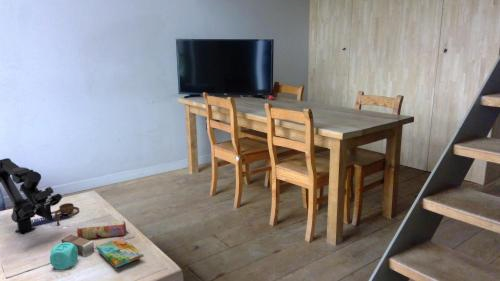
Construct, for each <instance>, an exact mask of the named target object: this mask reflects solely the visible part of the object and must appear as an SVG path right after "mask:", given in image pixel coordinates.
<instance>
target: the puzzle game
mask: <svg viewBox="0 0 500 281" xmlns="http://www.w3.org/2000/svg"><path fill="white" fill-rule="evenodd" d="M95 247H96V248H95V249H96V250H97V251H98V253H100V254H101V255H102V256H103V257H104V258H105V259H106V260H107V261H108V262H109V263H110V265H112V266H113V267H114V268H118V267H121V266H123V265H125V264H128V263H131V262H133V261H136V260H139V259H141V258H143V257H144V253H142V252H141V251H140V250H139V249H137V248H136V247H135V246H134V245H132V244H131V243H130V242H129V241H128V240H126V239H125V237H123V236H121V237H119V238H117V239H114V240H111V241H108V242H104V243H102V244H98V245H96V246H95Z"/></svg>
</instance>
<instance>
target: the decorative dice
mask: <svg viewBox="0 0 500 281" xmlns="http://www.w3.org/2000/svg"><path fill="white" fill-rule="evenodd" d="M50 251H51V252H50V254H49V262H50V265H51V266H52V267H53V268H54V269H56V270H61V271H62V270H67V269H71V268H72V267H74V266H75V265H76V263H77V262H78V257H79V255H78V249H77V247H76V246H75V245H74V244H72V243H69V242H65V243H62V242H61V243H57V244H56V245H54V246H53V248H52V249H51V250H50Z"/></svg>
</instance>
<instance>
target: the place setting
mask: <svg viewBox="0 0 500 281" xmlns="http://www.w3.org/2000/svg"><path fill="white" fill-rule="evenodd" d="M74 210H75V212H74V213H72V212H73V211H74ZM79 212H80V208H79V207H77V206H75V205H74V203H71V202H67V203H63V204H61V205H60V206H58V209H57V210H54V211H51V214H54V221H55V222H56V224H57V226H60V220H61V218H60V216H61V215H60V214H63V213H68V214H67V215H68V216H70V217H73V216H76V215H77V214H78V213H79ZM59 213H60V214H59Z"/></svg>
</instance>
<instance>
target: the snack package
mask: <svg viewBox="0 0 500 281" xmlns="http://www.w3.org/2000/svg"><path fill="white" fill-rule="evenodd" d="M126 225H127V224H126V221H125V220H122V219H121V220H115V221H102V222H92V223H79V224H78V225H77V227H76V228H77V229H76V233H77V237H80V238H83V239H87V240H92V239H100V238H101V239H102V238H109V237H118V236H121V237H123V236H126V233H127V232H126V231H127V226H126Z"/></svg>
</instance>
